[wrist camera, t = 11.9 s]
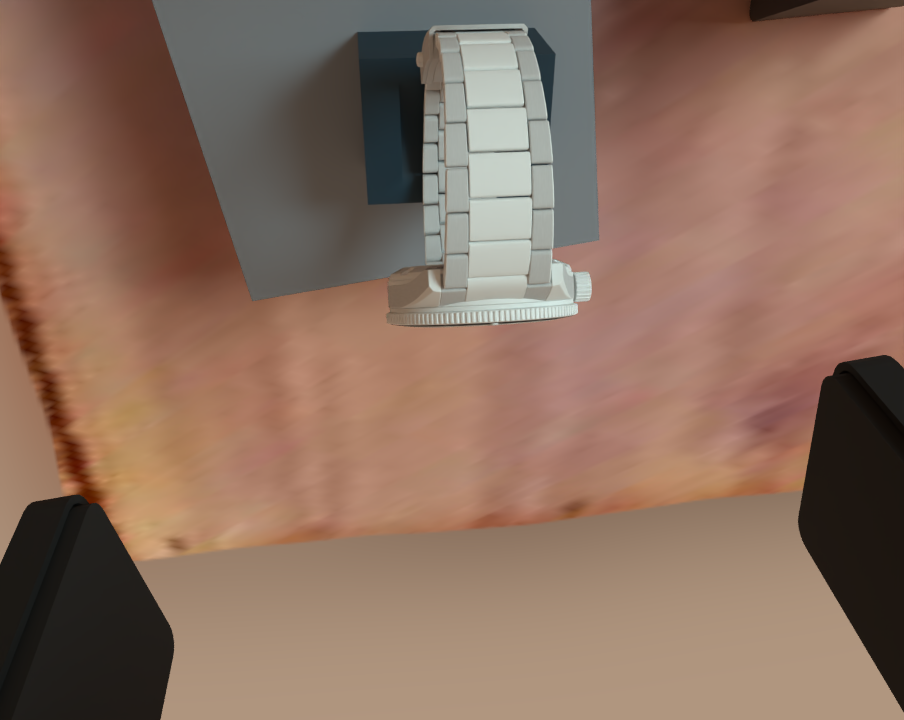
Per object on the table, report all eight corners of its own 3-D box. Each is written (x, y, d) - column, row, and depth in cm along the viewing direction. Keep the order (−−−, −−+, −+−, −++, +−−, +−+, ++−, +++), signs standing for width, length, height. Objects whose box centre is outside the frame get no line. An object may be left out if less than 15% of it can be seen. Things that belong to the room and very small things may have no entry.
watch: (369, 219, 28) (380, 416, 19) (353, -32, 24) (358, 74, 15) (526, 212, 29) (607, 401, 20) (541, -35, 24) (656, 66, 15)
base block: (160, -119, 27) (118, -99, 22) (541, -184, 27) (584, -179, 22) (265, 229, 34) (252, 301, 30) (563, 177, 35) (599, 240, 30)
